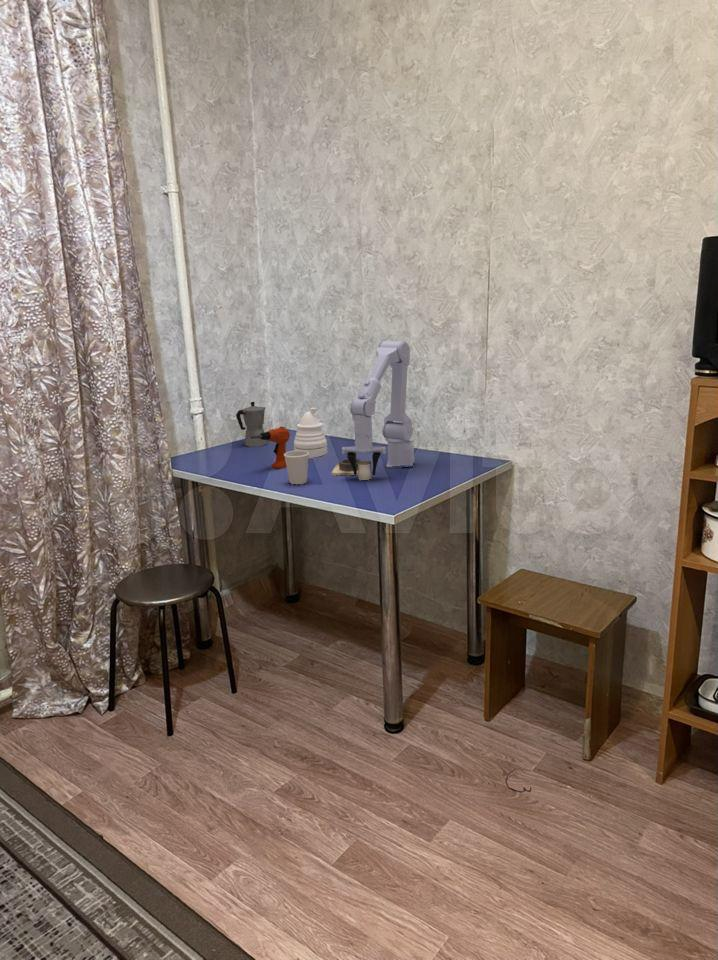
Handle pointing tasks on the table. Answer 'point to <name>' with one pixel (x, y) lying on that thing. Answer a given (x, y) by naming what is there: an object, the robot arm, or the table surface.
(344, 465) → the square plate with ring
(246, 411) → the coffeepot
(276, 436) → the toy drill
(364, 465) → the grey cylinder
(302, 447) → the honey pot
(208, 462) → the table surface
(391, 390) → the robot arm
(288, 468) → the dixie cup
